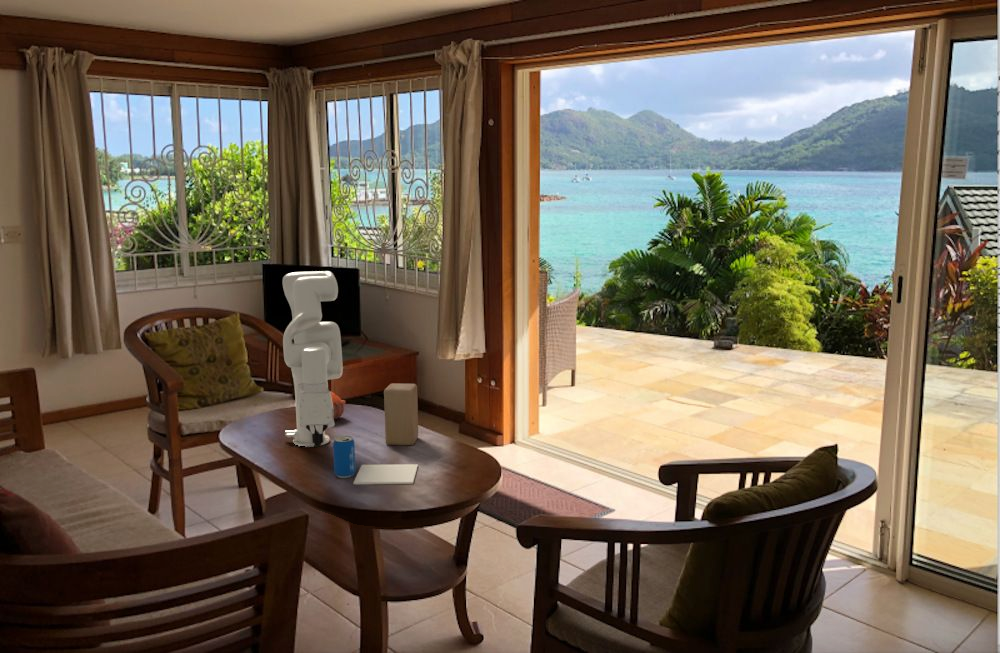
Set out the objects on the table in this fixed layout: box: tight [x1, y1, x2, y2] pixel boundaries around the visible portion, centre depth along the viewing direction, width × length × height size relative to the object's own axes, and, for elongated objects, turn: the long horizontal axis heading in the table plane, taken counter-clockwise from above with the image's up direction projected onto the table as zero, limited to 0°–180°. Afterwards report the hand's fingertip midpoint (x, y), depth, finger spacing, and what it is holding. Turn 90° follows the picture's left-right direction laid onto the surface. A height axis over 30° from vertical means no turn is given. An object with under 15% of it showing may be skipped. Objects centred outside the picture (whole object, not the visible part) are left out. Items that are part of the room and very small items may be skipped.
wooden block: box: [383, 382, 419, 446], centre depth 293 cm, size 10×10×20 cm
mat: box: [353, 463, 419, 485], centre depth 261 cm, size 18×16×1 cm
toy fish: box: [329, 390, 346, 420], centre depth 321 cm, size 12×10×11 cm
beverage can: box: [332, 435, 356, 479], centre depth 260 cm, size 6×6×12 cm
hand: (318, 445), depth 259 cm, fingers closed
